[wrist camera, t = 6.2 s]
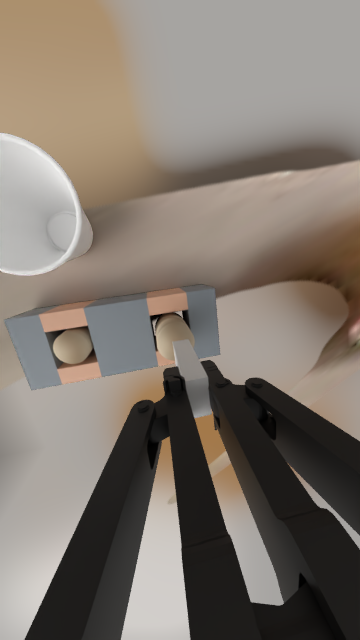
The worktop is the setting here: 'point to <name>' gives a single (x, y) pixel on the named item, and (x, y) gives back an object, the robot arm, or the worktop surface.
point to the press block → (111, 333)
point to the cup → (37, 211)
